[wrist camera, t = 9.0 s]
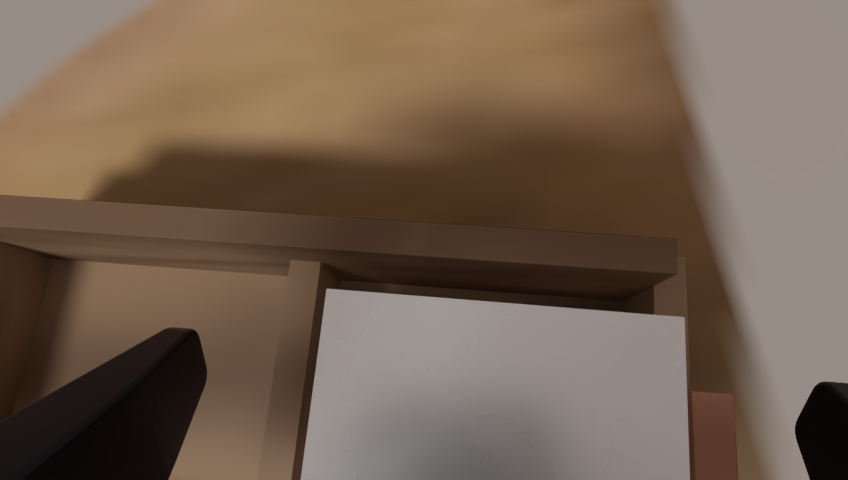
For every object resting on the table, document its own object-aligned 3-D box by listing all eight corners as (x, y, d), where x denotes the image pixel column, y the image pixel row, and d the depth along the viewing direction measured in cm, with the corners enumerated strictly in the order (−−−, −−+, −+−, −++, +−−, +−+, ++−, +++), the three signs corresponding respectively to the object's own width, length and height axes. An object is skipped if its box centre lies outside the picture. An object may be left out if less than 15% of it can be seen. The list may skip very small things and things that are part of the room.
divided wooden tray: (648, 639, 14) (755, 778, 9) (-32, 558, 16) (-264, 640, 11) (641, 281, 17) (723, 235, 12) (53, 239, 18) (-103, 182, 13)
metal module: (550, 531, 14) (698, 756, 6) (379, 512, 15) (270, 697, 6) (554, 356, 15) (684, 317, 7) (396, 342, 16) (326, 288, 7)
